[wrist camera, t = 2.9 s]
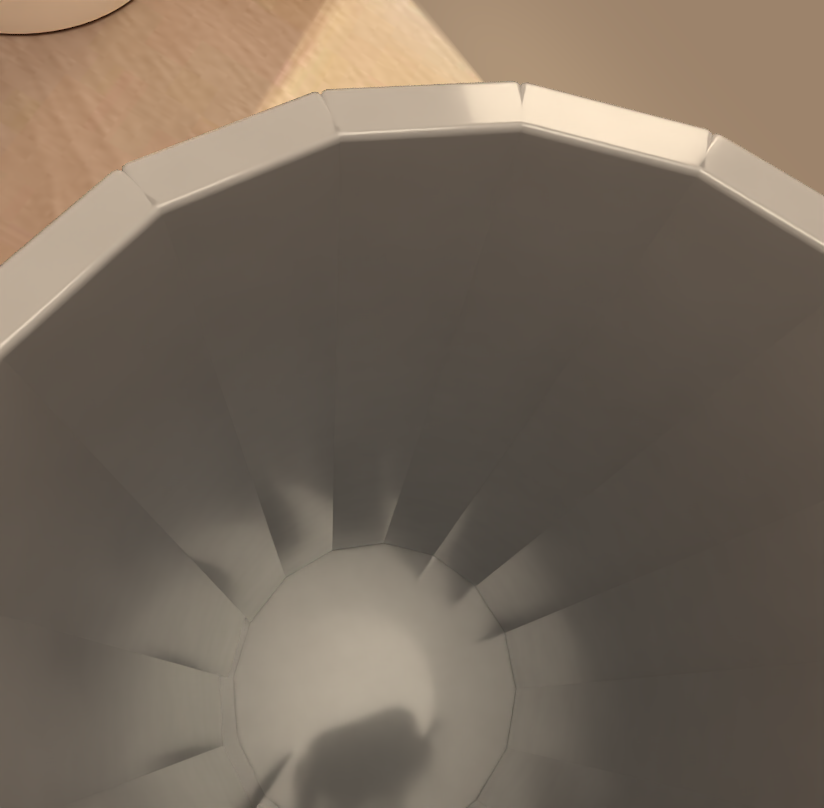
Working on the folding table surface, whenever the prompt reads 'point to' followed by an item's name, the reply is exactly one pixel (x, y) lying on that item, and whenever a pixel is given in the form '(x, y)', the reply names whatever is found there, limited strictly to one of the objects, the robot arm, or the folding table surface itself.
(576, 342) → the tumbler
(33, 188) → the folding table surface
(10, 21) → the cup
